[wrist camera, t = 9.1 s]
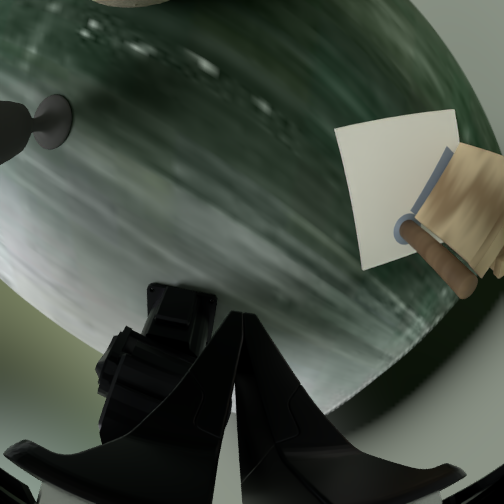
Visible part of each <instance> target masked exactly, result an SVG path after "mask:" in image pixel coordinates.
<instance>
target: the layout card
mask: <svg viewBox="0 0 504 504" xmlns="http://www.w3.org/2000/svg"><path fill="white" fill-rule="evenodd" d="M334 130H335V134H336V138H337V142H338V145H339V149H340V153H341V157H342V162H343V166H344V170H345V175H346V179H347V184H348V188H349V193H350V198H351V203H352V209H353V214H354V220H355V225H356V231H357V238H358V244H359V251H360V258H361V266H362V270H366V269H370V268H373V267H376V266H379V265H381V264H384V263H387V262H390V261H393V260H396V259H399V258H402V257H405V256H407V255H410V254H413V253H416V252H417V251H416V250H415V249H414V248H413V247H411V246H410V245H409V244H408V243H407V242H406V241H405V240H404V239H403V238H402V237H401V236H400V233H399V229H400V226H401V224H402V223H403V222H404V221H406V220H412V221H414V222H415V223H416V224H418V225H419V226H420V227H421V228H423V229H424V230H425V231H426V232H427V233H429V234H430V235H431V236H432V237H433V238H435V239H436V240H437V241H438V242H439V243H443V241H442V240H441V239H440V238H439V237H437V236H436V235H435V234H434V233H433V232H431V231H430V230H429V229H428V228H426V227H425V226H424V225H423V224H421V223H420V222H419V221H418V220H417V219H416V218H414V217H415V216H416V214H417V213H418V211H419V210H420V208H421V207H422V205H423V204H424V202H425V201H426V199H427V198H428V196H429V195H430V193H431V191H432V190H433V188H434V187H435V185H436V183H437V182H438V180H439V179H440V177H441V175H442V174H443V172H444V170H445V168H446V167H447V165H448V163H449V162H450V160H451V158H452V156H453V154H454V153H455V151H456V149H457V147H458V145H459V143H460V142H459V134H458V127H457V121H456V115H455V110H454V109H450V110H440V111H431V112H423V113H416V114H409V115H402V116H396V117H390V118H384V119H379V120H373V121H368V122H363V123H358V124H353V125H349V126H344V127H340V128H335V129H334Z"/></svg>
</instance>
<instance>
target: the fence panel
mask: <svg viewBox="0 0 504 504" xmlns="http://www.w3.org/2000/svg"><path fill="white" fill-rule="evenodd" d="M414 218H416V219H417V220H418V221H419V222H420V223H421V224H423V225H424V226H425V227H426V228H428V229H429V230H430V231H431V232H433V233H434V234H435V235H436V236H437V237H439V238H440V239H441V240H442V241H443V242H445V243H446V244H447V245H448V246H449V247H450V248H452V249H453V250H454V251H455V252H456V253H457V254H458V255H460V256H461V257H462V258H463V259H464V260H465V261H466V262H467V263H468V264H469V265H470V267H471V268H472V269H473V270H474V271H475V272H476V273H477V274H478V275H479V276H480V277H481V278H482V277H483V276H484V274H485V273H486V271H487V270H488V269H489V267H490V266H491V264H492V263H493V261H494V260H495V258H496V257H497V255H498V254H499V252H500V251H501V249H502V247H503V246H504V156H502V155H499V154H496V153H493V152H490V151H487V150H484V149H481V148H478V147H474V146H471V145H467V144H464V143H459V145H458V147H457V149H456V151H455V153H454V154H453V156H452V158H451V160H450V162H449V163H448V165H447V167H446V168H445V170H444V172H443V174H442V175H441V177H440V179H439V180H438V182H437V183H436V185H435V187H434V188H433V190H432V191H431V193H430V195H429V196H428V198H427V199H426V201H425V202H424V204H423V205H422V207H421V208H420V210H419V211H418V213H417V214H416V216H415V217H414Z"/></svg>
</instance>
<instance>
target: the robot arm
mask: <svg viewBox="0 0 504 504" xmlns="http://www.w3.org/2000/svg"><path fill="white" fill-rule="evenodd" d="M151 288H153V289H154V290H152V289H151ZM210 299H212V300H214V301H210ZM216 305H217V297H216V296H215V295H212V294H206V293H201V292H195V291H191V290H185V289H180V288H175V287H170V286H164V285H159V284H154V283H151V284H149V286H148V288H147V307H148V319H147V321H146V323H145V326H144V328H143V331H142V333H141V334H139V333H137V332H135V331H133V330H132V328H130V327H128V326H126V327H125V329H124V330H123V332H121V331H120V333H119V335H118V336H114V337H113V339H112V341H111V343H110V345H109V347H108V349H107V351H106V352H105V353H104V355H103V356H102V358H101V359H100V360H99V362H98V363H97V365H96V368H95V370H96V373H97V375H98V377H99V381H98V384H99V388H98V394H100V395H101V396H104V397H106V401H105V404H104V407H103V410H102V413H101V416H100V420H99V429H100V438H101V442H102V445H99V446H96V447H94V448H91V449H88V450H85V451H82V452H79V453H75V454H69V455H64V454H57V453H54V452H51V451H49V450H47V449H45V448H44V447H42V446H40V445H38V444H36V443H34V442H32V441H29V440H22V441H20V442H18V443H15V444H14V445H12V446H10V447H9V448H8V449H7V450H6V451H5V452H4V453H3V455H4V456H5V457H6V458H8V459H9V460H10V461H12V462H13V463H14V464H16V465H17V466H18V467H20V468H21V469H23V470H24V471H26V472H28V473H29V474H31V475H32V476H34V477H35V478H37V479H38V480H40V481H42V484H41V487H40V491H39V495H38V499H37V502H36V501H35V499H34V497H33V496H32V493H31V491H30V489H29V487H28V486H27V485H25V484H24V483H22V482H21V481H19V480H18V479H16V478H15V477H13V476H12V475H10V474H9V473H7V472H6V471H4V470H3V469H2V468H0V504H212V500H213V493H214V486H215V480H216V473H217V466H218V459H219V454H220V449H221V444H222V439H223V435H224V430H225V427H226V425H227V423H228V420H229V417H230V414H231V408H232V399H231V397H232V393H233V388H234V383H235V395H236V414H237V432H238V448H239V463H240V476H241V483H242V484H241V491H242V503H243V504H504V464H502V465H501V466H499V467H498V468H497V469H495V470H494V471H492V472H491V473H489V474H488V475H486V476H484V477H483V478H481V479H480V480H478V481H476V482H475V483H473V484H471V485H470V486H468V487H466V488H464V489H462V490H461V491H459V492H457V493H455V494H453V495H451V496H449V497H447V498H446V499H443V500H442V499H441V495H440V492H439V491H441V490H443V489H445V488H447V487H448V486H450V485H452V484H454V483H456V482H457V481H459V480H460V479H462V478H464V477H465V476H466V473H465V472H464V471H463V470H462V469H461V468H459V467H457V466H454V465H451V464H448V463H445V464H442V465H440V466H437V467H435V468H432V469H416V468H411V467H408V466H404V465H401V464H397V463H394V462H390V461H387V460H384V459H381V458H378V457H375V456H372V455H369V454H366V453H364V452H362V451H360V450H358V449H357V448H355V447H354V446H353V445H352V444H351V443H350V442H348V440H347V439H346V438H345V437H344V436H343V435H342V434H341V433H340V432H339V431H338V430H337V429H336V428H335V426H334V425H333V424H332V423H331V422H330V421H329V420H328V419H327V418H326V416H325V415H324V414H323V413H322V412H321V410H320V409H319V408H318V407H317V406H316V404H315V403H314V402H313V400H312V399H311V397H310V396H309V395H308V393H307V392H306V390H305V389H304V387H303V386H302V385H300V384H301V383H300V382H299V380H298V379H297V377H296V376H295V374H294V373H293V371H292V370H291V368H290V367H289V365H288V364H287V362H286V361H285V359H284V358H283V356H282V354H281V353H280V351H279V350H278V348H277V347H276V345H275V344H274V342H273V341H272V339H271V338H270V336H269V334H268V333H267V331H266V330H265V328H264V327H263V325H262V324H261V322H260V320H259V319H258V317H257V316H256V315H255V314H252V313H242V312H239V311H230V313H229V314H228V315H227V317H226V318H225V320H224V321H223V323H222V324H221V325H220V327H219V328H218V330H217V331H216V332H215V334H214V335H213V337H212V338H211V335H212V329H213V323H214V317H215V311H216ZM206 341H207V342H206ZM205 346H206V347H205Z"/></svg>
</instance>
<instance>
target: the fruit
mask: <svg viewBox="0 0 504 504" xmlns="http://www.w3.org/2000/svg"><path fill="white" fill-rule="evenodd" d="M92 1H95V2H97V3H100V4H104V5H108V6H115V7H144V6H149V5H154V4H161V3H163V2H166V1H169V0H92Z"/></svg>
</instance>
